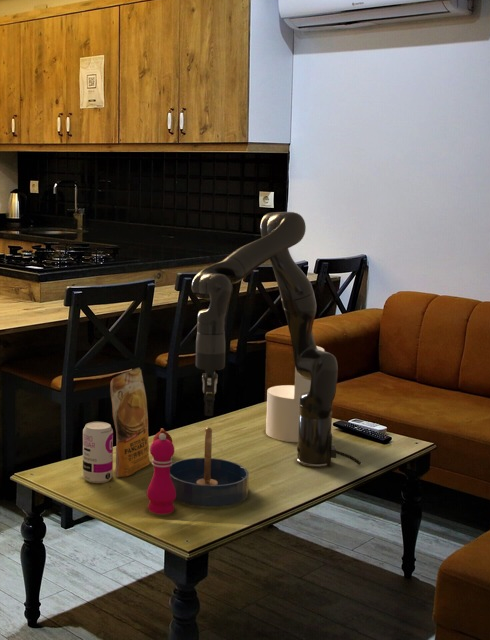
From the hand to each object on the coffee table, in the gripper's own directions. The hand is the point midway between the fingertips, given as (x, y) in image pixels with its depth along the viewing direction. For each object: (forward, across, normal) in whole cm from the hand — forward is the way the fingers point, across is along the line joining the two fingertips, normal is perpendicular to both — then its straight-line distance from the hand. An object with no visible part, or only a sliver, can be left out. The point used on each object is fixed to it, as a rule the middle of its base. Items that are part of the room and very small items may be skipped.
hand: (209, 410), depth 229 cm
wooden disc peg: (+22, 0, 0) cm, 22 cm away
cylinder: (+23, +56, -26) cm, 66 cm away
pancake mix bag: (+22, +15, +22) cm, 35 cm away
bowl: (+22, 0, 0) cm, 22 cm away
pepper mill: (+22, -14, +11) cm, 29 cm away
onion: (+22, +29, +14) cm, 39 cm away
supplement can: (+22, +6, +30) cm, 38 cm away
